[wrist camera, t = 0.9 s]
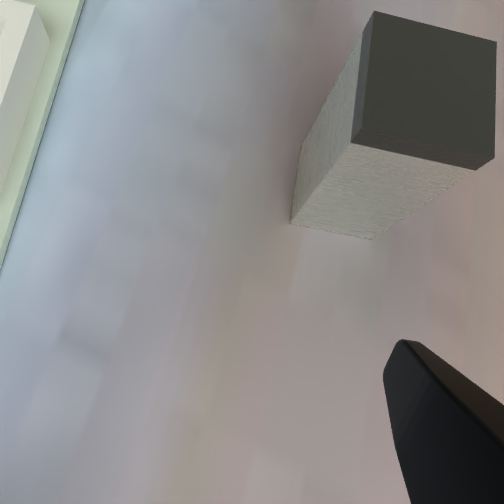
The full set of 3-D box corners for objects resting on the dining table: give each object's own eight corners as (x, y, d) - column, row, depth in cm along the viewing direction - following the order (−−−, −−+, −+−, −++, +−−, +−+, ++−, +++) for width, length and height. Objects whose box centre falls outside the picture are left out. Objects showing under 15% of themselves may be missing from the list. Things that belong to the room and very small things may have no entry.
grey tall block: (371, 239, 24) (494, 157, 15) (289, 223, 24) (361, 127, 14) (378, 164, 25) (496, 41, 16) (300, 147, 25) (374, 10, 15)
